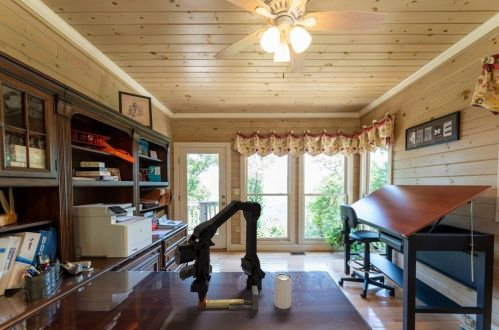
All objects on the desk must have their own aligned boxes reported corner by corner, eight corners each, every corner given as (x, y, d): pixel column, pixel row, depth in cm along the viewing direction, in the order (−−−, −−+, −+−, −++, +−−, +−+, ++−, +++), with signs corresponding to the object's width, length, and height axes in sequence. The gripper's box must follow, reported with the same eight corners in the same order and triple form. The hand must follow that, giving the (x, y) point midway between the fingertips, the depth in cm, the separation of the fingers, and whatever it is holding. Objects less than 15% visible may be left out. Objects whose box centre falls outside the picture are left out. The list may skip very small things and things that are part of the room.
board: (263, 300, 102) (263, 283, 102) (267, 316, 91) (267, 296, 91) (197, 302, 101) (197, 284, 101) (192, 318, 90) (192, 298, 90)
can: (280, 313, 93) (280, 281, 93) (271, 305, 99) (271, 274, 99) (294, 309, 96) (294, 278, 96) (284, 301, 102) (284, 271, 102)
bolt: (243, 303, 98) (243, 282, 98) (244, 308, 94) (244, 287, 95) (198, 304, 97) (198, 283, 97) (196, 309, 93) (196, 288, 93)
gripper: (185, 251, 104) (185, 288, 104) (175, 268, 86) (175, 314, 85) (212, 250, 105) (212, 287, 105) (208, 268, 86) (207, 313, 86)
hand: (202, 299), depth 95 cm, fingers closed on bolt, 4 cm apart
